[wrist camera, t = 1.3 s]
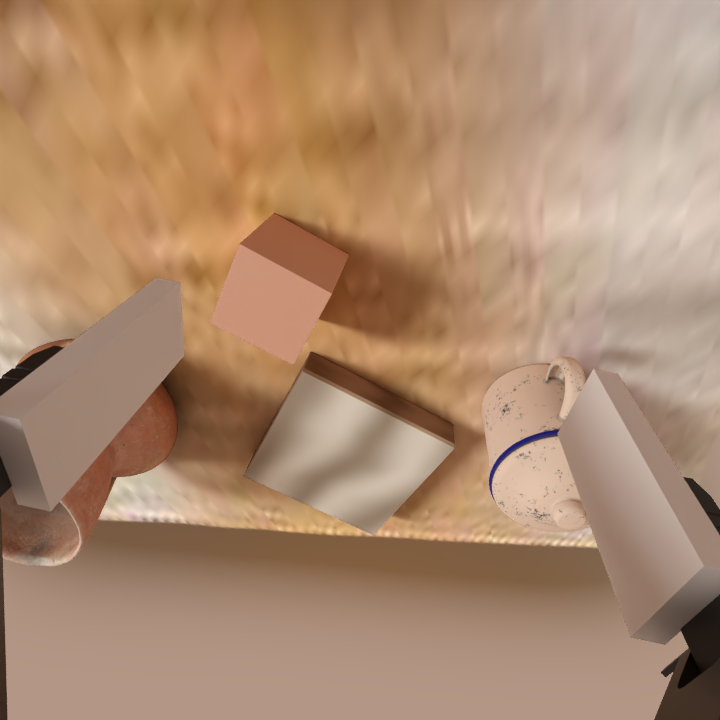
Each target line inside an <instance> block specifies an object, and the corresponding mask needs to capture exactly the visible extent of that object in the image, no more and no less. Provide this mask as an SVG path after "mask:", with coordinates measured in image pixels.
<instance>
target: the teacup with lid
mask: <svg viewBox="0 0 720 720" xmlns="http://www.w3.org/2000/svg"><path fill="white" fill-rule="evenodd" d="M585 383H586V378H585V373H584V370H583V368H582V366H581V364H580V363H579V362H578V361H577V360H576V359H574V358H571V357H558V358H556V359H555V360H554V361H553V362H552V363H551V365H548V364H534V365H528V366H523V367H520V368H517V369H514V370H512V371H510V372H508V373H506V374H504V375H503V376H501V377H500V378H499V379H497V380H496V381H495V382H494V383H493V384H492V385H491V387H490V388H489V389H488V391H487V392H486V394H485V396H484V399H483V403H482V419H483V425H484V432H485V438H486V444H487V451H488V457H489V464H490V470H491V473H490V478H489V486H490V491H491V494H492V497H493V499H494V500H495V502H496V503H497V505H498V507H499V508H500V509H501V510H502V511H503V512H504V513H505V514H506V515H507V516H508V517H509V518H511V519H512V520H514V521H515V522H517V523H519V524H521V525H524V526H526V527H529V528H532V529H536V530H541V531H547V532H568V531H576V530H581V529H585V528H588V527H591V526H590V523H589V521H588V518H587V515H586V512H585V509H584V507H583V504H582V501H581V498H580V496H579V493H578V490H577V487H576V484H575V482H574V479H573V476H572V473H571V471H570V468H569V465H568V462H567V459H566V457H565V454H564V451H563V448H562V446H561V443H560V440H559V437H558V434H557V433H558V432H559V430H560V428H561V426H562V424H563V423H564V421H565V419H566V417H567V415H568V414H569V412H570V410H571V408H572V406H573V405H574V403H575V401H576V399H577V397H578V396H579V394H580V392H581V390H582V388H583V387H584V385H585Z"/></svg>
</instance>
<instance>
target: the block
mask: <svg viewBox="0 0 720 720" xmlns="http://www.w3.org/2000/svg"><path fill="white" fill-rule="evenodd" d="M348 257H349V254H347V253H345V252H343V251H342V250H340V249H338V248H336V247H334V246H333V245H331V244H329V243H327V242H325V241H324V240H322V239H320V238H318V237H316V236H315V235H313V234H311V233H309V232H307V231H306V230H304V229H302V228H300V227H298V226H297V225H295V224H293V223H291V222H290V221H288V220H286V219H284V218H282V217H281V216H279V215H277V214H275V213H274V214H273V215H271V216H270V217H269V218H268V219H267V220H266V221H265V222H264V223H262V224H261V225H260V226H259V227H258V228H257V229H256V230H255V231H253V232H252V233H251V234H250V235H249V236H248V237H247V238H246V239H244V240H243V241H242V242H241V243H240V244H239V247H238V249H237V252H236V255H235V257H234V260H233V262H232V265H231V268H230V270H229V273H228V276H227V278H226V281H225V284H224V286H223V289H222V291H221V294H220V297H219V299H218V302H217V305H216V307H215V310H214V312H213V315H212V318H211V320H210V324H212V325H214V326H216V327H218V328H220V329H222V330H224V331H226V332H228V333H230V334H232V335H234V336H236V337H238V338H240V339H242V340H244V341H246V342H248V343H250V344H252V345H254V346H256V347H258V348H260V349H262V350H264V351H266V352H268V353H270V354H272V355H274V356H276V357H278V358H280V359H282V360H284V361H286V362H288V363H290V364H292V365H294V363H295V361H296V359H297V357H298V356H299V354H300V352H301V350H302V348H303V346H304V344H305V343H306V341H307V339H308V337H309V335H310V333H311V332H312V330H313V328H314V326H315V324H316V322H317V321H318V319H319V317H320V315H321V313H322V311H323V309H324V308H325V306H326V304H327V302H328V300H329V298H330V297H331V295H332V293H333V290H334V288H335V286H336V284H337V281H338V279H339V277H340V275H341V272H342V270H343V268H344V266H345V263H346V261H347V259H348Z"/></svg>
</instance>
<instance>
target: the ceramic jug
mask: <svg viewBox="0 0 720 720" xmlns="http://www.w3.org/2000/svg"><path fill="white" fill-rule="evenodd" d="M74 340H75V339H66V340H58V341H54V342H50V343H47V344H44V345H41V346H39V347H37V348H35V349H33V350H32V351H30V352H29V353H27V354H26V355H25V356H24V357H23V358H22V359H21V360H20V362H19V363H21V362H22V361H24V360H25V359H26V358H28V357H29V356H31V355H32V354H34V353H37V352H39V351H42V350H44V349H47V348H49V347H52V346H54V345H55V346H60V347H66V346H67V345H68V344H70V343H71V342H72V341H74ZM19 363H18V364H19ZM18 364H17V365H18ZM177 430H178V421H177V414H176V410H175V406H174V404H173V402H172V399H171V397H170V396H169V394H168V392H167V391H166V389H165V388H164V386H163V385H162V383H160V385H159V386H158V387H157V388H156V389H155V390H154V392H153V393H152V394H151V395H150V396H149V397H148V399H147V400H146V401H145V402H144V403H143V404H142V406H141V407H140V408H139V409H138V410H137V411H136V413H135V414H134V415H133V416H132V417H131V418H130V420H129V421H128V422H127V423H126V424H125V425H124V427H123V428H122V429H121V430H120V431H119V433H118V434H117V435H116V436H115V437H114V438H113V440H112V441H111V442H110V443H109V444H108V445H107V447H106V448H105V449H104V450H103V451H102V452H101V454H100V455H99V456H98V457H97V458H96V459H95V461H94V462H93V463H92V464H91V465H90V466H89V468H88V469H87V470H86V471H85V472H84V473H83V475H82V476H81V477H80V478H79V479H78V481H77V482H76V483H75V484H74V485H73V486H72V488H71V489H70V490H69V491H68V492H67V493H66V495H65V496H64V497H63V498H62V499H61V500H60V502H59V503H58V504H57V505H56V506H55V507H54V509H53V510H52V511H51V512H50V511H46V510H41V509H36V508H32V507H27V506H23V505H18V504H17V501H16V499H15V496H14V494H13V491H12V489H11V487H10V488H9V489H8V490H7V491H6V492H5V493H4V494H3V495H2V496H1V497H0V508H1V519H2V553H3V558H5V559H6V560H10V561H13V562H16V563H21V564H25V565H31V566H35V565H39V566H40V565H42V566H57V565H60V564H64V563H66V562H69V561H71V560H72V559H74V558H75V557H76V556H77V555H78V554H79V553H80V552H81V550H82V549H83V547H84V546H85V544H86V542H87V540H88V539H89V537H90V535H91V533H92V531H93V529H94V527H95V525H96V523H97V520H98V518H99V516H100V513H101V511H102V509H103V507H104V505H105V503H106V500H107V498H108V496H109V493H110V491H111V489H112V487H113V484H114V482H115V480H116V478H117V477H126V476H133V475H137V474H141V473H144V472H147V471H149V470H151V469H153V468H154V467H156V466H157V465H159V464H160V463H161V462H162V461H163V460H164V459H165V458H166V457H167V456H168V455H169V453H170V452H171V450H172V448H173V446H174V443H175V440H176V436H177Z"/></svg>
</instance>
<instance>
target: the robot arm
mask: <svg viewBox="0 0 720 720" xmlns="http://www.w3.org/2000/svg"><path fill="white" fill-rule="evenodd" d="M184 355H185V354H184V338H183V322H182V305H181V289H180V282H175V281H170V280H165V279H161V278H155V279H154V280H153V281H151V282H150V283H149V284H147V285H146V286H145V287H143V288H142V289H141V290H139V291H138V292H137V293H135V294H134V295H133V296H132V297H130V298H129V299H128V300H126V301H125V302H124V303H122V304H121V305H120V306H118V307H117V308H116V309H114V310H113V311H112V312H110V313H109V314H108V315H107V316H105V317H104V318H103V319H101V320H100V321H99V322H97V323H96V324H95V325H93V326H92V327H91V328H89V329H88V330H87V331H86V332H84V333H83V334H82V335H80V336H79V337H78V338H76V339H75V340H74V341H72V342H71V343H70V344H68V345H67V346H66V347H60V346H55V345H54V346H52V347H49V348H47V349H44V350H42V351H39V352H37V353H34V354H32V355H31V356H29V357H28V358H26V359H25V360H24V361H22V362H21V363H19V364H18V365H17V366H16V368H15V369H13V368H12V369H11V370H10V371H8V372H7V373H6V374H4V375H3V376H2V378H1V379H0V497H1V496H2V495H3V494H4V493H5V492H6V491H7V490H8V489H9V488H10V487H11V489H12V491H13V494H14V496H15V499H16V501H17V504H18V505H23V506H27V507H32V508H36V509H41V510H46V511H50V512H51V511H52V510H53V509H54V507H55V506H56V505H57V504H58V503H59V502H60V500H61V499H62V498H63V497H64V496H65V495H66V493H67V492H68V491H69V490H70V489H71V488H72V486H73V485H74V484H75V483H76V482H77V481H78V479H79V478H80V477H81V476H82V475H83V473H84V472H85V471H86V470H87V469H88V468H89V466H90V465H91V464H92V463H93V462H94V461H95V459H96V458H97V457H98V456H99V455H100V454H101V452H102V451H103V450H104V449H105V448H106V447H107V445H108V444H109V443H110V442H111V441H112V440H113V438H114V437H115V436H116V435H117V434H118V433H119V431H120V430H121V429H122V428H123V427H124V425H125V424H126V423H127V422H128V421H129V420H130V418H131V417H132V416H133V415H134V414H135V413H136V411H137V410H138V409H139V408H140V407H141V406H142V404H143V403H144V402H145V401H146V400H147V399H148V397H149V396H150V395H151V394H152V393H153V392H154V390H155V389H156V388H157V387H158V386H159V385H160V383H161V382H162V381H163V380H164V379H165V378H166V376H167V375H168V374H169V373H170V372H171V370H172V369H173V368H174V367H175V366H176V365H177V363H178V362H179V361H180V360H181V359H182V358H183V356H184ZM557 434H558V437H559V440H560V443H561V446H562V448H563V451H564V454H565V457H566V459H567V462H568V465H569V468H570V471H571V473H572V476H573V479H574V482H575V484H576V487H577V490H578V493H579V496H580V498H581V501H582V504H583V507H584V509H585V512H586V515H587V518H588V521H589V523H590V526H591V529H592V532H593V534H594V537H595V540H596V543H597V546H598V548H599V551H600V554H601V557H602V559H603V562H604V565H605V568H606V571H607V573H608V576H609V579H610V581H611V584H612V587H613V590H614V593H615V596H616V598H617V601H618V604H619V607H620V609H621V612H622V615H623V618H624V621H625V623H626V626H627V629H628V632H629V634H630V637H632V638H637V639H641V640H646V641H651V642H655V643H660V644H664V645H665V644H666V643H667V642H668V641H670V640H671V639H672V638H673V637H674V636H675V635H677V634H678V633H679V632H680V631H682V634H683V636H684V638H685V640H686V643H687V645H688V647H689V648H688V649H687V650H686V651H685V652H684V653H682V654H681V655H680V656H679V657H678V658H676V659H675V660H674V661H673V662H672V663H670V664H669V665H668V666H667V667H666V668H665V669H664V670H663V671H662V672H661V673H662V674H663V675H664V676H665V677H667V676H668V675H669V674H670V673H672V672H673V675H672V677H671V680H670V682H669V685H668V687H667V690H666V692H665V695H664V697H663V699H662V702H661V705H660V707H659V709H658V712H657V714H656V717H655V719H654V720H720V509H719V508H718V506H717V505H716V503H715V502H714V500H713V499H712V497H711V496H710V495H709V494H708V493H707V492H706V491H705V490H704V489H702V488H701V487H700V486H699V485H698V484H697V483H696V482H695V481H694V480H693V479H691V478H686V477H683V476H682V475H681V473H680V471H679V470H678V468H677V467H676V465H675V463H674V462H673V460H672V459H671V457H670V456H669V454H668V452H667V451H666V449H665V448H664V446H663V444H662V443H661V441H660V440H659V438H658V437H657V435H656V433H655V432H654V430H653V429H652V427H651V425H650V424H649V422H648V421H647V419H646V418H645V416H644V414H643V413H642V411H641V410H640V408H639V406H638V405H637V403H636V402H635V400H634V399H633V397H632V395H631V394H630V392H629V391H628V389H627V387H626V386H625V384H624V383H623V381H622V380H621V378H620V376H619V375H618V374H616V373H612V372H607V371H602V370H597V369H593V370H592V372H591V374H590V376H589V378H588V379H587V381H586V383H585V385H584V387H583V388H582V390H581V392H580V394H579V396H578V397H577V399H576V401H575V403H574V405H573V406H572V408H571V410H570V412H569V414H568V415H567V417H566V419H565V421H564V423H563V424H562V426H561V428H560V430H559V432H558V433H557ZM0 720H7V692H6V655H5V623H4V588H3V553H2V519H1V508H0Z"/></svg>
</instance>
